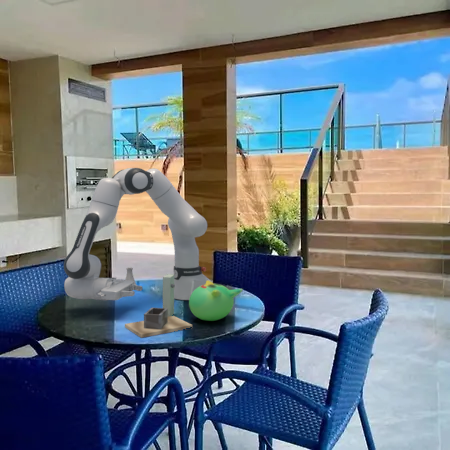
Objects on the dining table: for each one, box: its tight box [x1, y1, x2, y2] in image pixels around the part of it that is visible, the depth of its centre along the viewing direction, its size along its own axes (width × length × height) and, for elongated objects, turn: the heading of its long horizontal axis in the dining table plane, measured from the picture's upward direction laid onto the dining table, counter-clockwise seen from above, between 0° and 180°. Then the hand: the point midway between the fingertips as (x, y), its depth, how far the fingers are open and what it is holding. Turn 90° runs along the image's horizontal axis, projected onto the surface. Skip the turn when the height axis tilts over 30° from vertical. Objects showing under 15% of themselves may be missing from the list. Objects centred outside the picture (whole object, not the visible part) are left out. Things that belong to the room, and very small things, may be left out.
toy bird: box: [188, 280, 244, 322], centre depth 181 cm, size 18×17×15 cm
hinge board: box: [124, 307, 193, 339], centre depth 170 cm, size 20×14×6 cm
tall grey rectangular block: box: [162, 273, 175, 317], centre depth 185 cm, size 6×4×16 cm
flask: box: [124, 267, 137, 285], centre depth 233 cm, size 7×7×10 cm
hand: (138, 291), depth 186 cm, fingers open, 8 cm apart
